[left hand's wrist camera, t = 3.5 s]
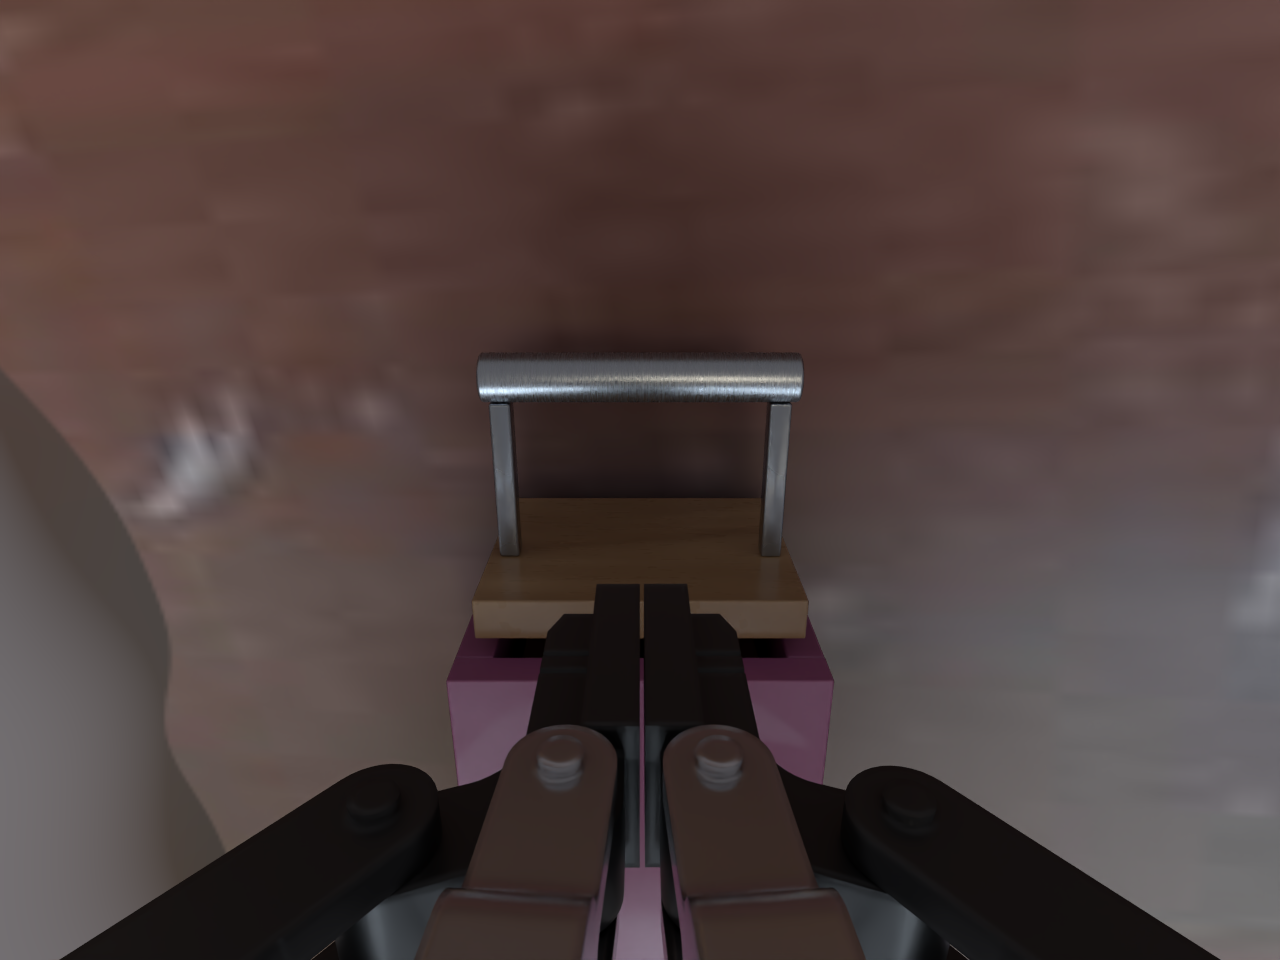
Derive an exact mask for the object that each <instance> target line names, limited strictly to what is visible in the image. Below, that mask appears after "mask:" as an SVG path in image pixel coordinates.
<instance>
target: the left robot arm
mask: <svg viewBox="0 0 1280 960" xmlns="http://www.w3.org/2000/svg"><path fill="white" fill-rule="evenodd" d="M644 810H645V867H660V878H661V934H662V943H663V952H664V960H968V959H969V960H1220V959H1218V958H1217V957H1215V956H1214V955H1212V954H1211V953H1209V952H1208V951H1206V950H1204V949H1203V948H1201V947H1200V946H1198V945H1197V944H1195V943H1193V942H1192V941H1190V940H1189V939H1187V938H1186V937H1184V936H1182V935H1181V934H1179V933H1178V932H1176V931H1175V930H1173V929H1172V928H1170V927H1168V926H1167V925H1165V924H1164V923H1162V922H1161V921H1159V920H1157V919H1156V918H1154V917H1153V916H1151V915H1150V914H1148V913H1146V912H1145V911H1143V910H1142V909H1140V908H1139V907H1137V906H1136V905H1134V904H1132V903H1131V902H1129V901H1128V900H1126V899H1125V898H1123V897H1121V896H1120V895H1118V894H1117V893H1115V892H1114V891H1112V890H1110V889H1109V888H1107V887H1106V886H1104V885H1103V884H1101V883H1099V882H1098V881H1096V880H1095V879H1093V878H1092V877H1090V876H1089V875H1087V874H1085V873H1084V872H1082V871H1081V870H1079V869H1078V868H1076V867H1074V866H1073V865H1071V864H1070V863H1068V862H1067V861H1065V860H1063V859H1062V858H1060V857H1059V856H1057V855H1056V854H1054V853H1053V852H1051V851H1049V850H1048V849H1046V848H1045V847H1043V846H1042V845H1040V844H1038V843H1037V842H1035V841H1034V840H1032V839H1031V838H1029V837H1027V836H1026V835H1024V834H1023V833H1021V832H1020V831H1018V830H1016V829H1015V828H1013V827H1012V826H1010V825H1009V824H1007V823H1006V822H1004V821H1002V820H1001V819H999V818H998V817H996V816H995V815H993V814H991V813H990V812H988V811H987V810H985V809H984V808H982V807H980V806H979V805H977V804H976V803H974V802H973V801H971V800H970V799H968V798H966V797H965V796H963V795H962V794H960V793H959V792H957V791H955V790H954V789H952V788H951V787H949V786H948V785H946V784H944V783H943V782H941V781H940V780H938V779H936V778H934V777H932V776H930V775H928V774H926V773H923V772H921V771H917V770H914V769H911V768H906V767H900V766H879V767H873V768H870V769H867V770H864V771H862V772H861V773H859V774H857V775H856V776H855V777H854V778H853V779H852V780H851V781H850V783H849V784H848V786H847V789H846V790H842V789H838V788H834V787H830V786H826V785H822V784H818V783H814V782H811V781H808V780H805V779H802V778H800V777H798V776H795V775H793V774H792V773H790V772H788V771H786V770H785V769H783V768H782V767H781V766H779V765H778V764H777V763H776V762H775V759H774V757H773V754H772V752H771V751H770V750H769V748H768V747H767V746H766V745H765V744H764V743H763V742H762V741H761V740H760V738H759V734H758V729H757V725H756V720H755V715H754V711H753V706H752V701H751V697H750V692H749V688H748V683H747V678H746V674H745V672H744V664H743V660H742V656H741V651H740V646H739V641H738V637H737V632H736V630H735V629H734V628H733V627H732V626H731V625H730V624H729V623H728V622H727V621H726V620H725V619H724V618H723V617H722V616H721V614H691V610H690V602H689V594H688V586H687V584H644ZM625 868H640V584H597V585H596V593H595V602H594V611H593V614H563V616H562V617H561V618H560V619H559V620H558V621H557V622H556V623H555V624H554V625H553V626H552V627H551V628H550V629H549V631H548V632H547V637H546V642H545V647H544V651H543V656H542V661H541V666H540V673H539V676H538V680H537V685H536V690H535V695H534V700H533V704H532V709H531V714H530V719H529V724H528V729H527V733H526V736H524V737H523V738H522V739H520V740H519V741H518V742H517V743H516V744H515V745H514V746H513V747H512V748H511V750H510V751H509V752H508V754H507V757H506V759H505V762H504V765H503V767H502V769H501V770H499V771H498V772H496V773H494V774H492V775H491V776H488V777H486V778H484V779H481V780H479V781H475V782H472V783H469V784H465V785H461V786H457V787H453V788H449V789H445V790H441V791H437V788H436V785H435V783H434V781H433V780H432V778H431V777H430V776H429V775H428V774H426V773H425V772H423V771H422V770H420V769H418V768H415V767H412V766H408V765H403V764H385V765H378V766H373V767H369V768H366V769H363V770H360V771H358V772H355V773H353V774H351V775H349V776H347V777H345V778H344V779H342V780H340V781H339V782H337V783H336V784H334V785H332V786H331V787H329V788H328V789H326V790H325V791H323V792H321V793H320V794H318V795H317V796H315V797H314V798H312V799H311V800H309V801H307V802H306V803H304V804H303V805H301V806H300V807H298V808H296V809H295V810H293V811H292V812H290V813H289V814H287V815H285V816H284V817H282V818H281V819H279V820H278V821H276V822H274V823H273V824H271V825H270V826H268V827H267V828H265V829H264V830H262V831H260V832H259V833H257V834H256V835H254V836H253V837H251V838H249V839H248V840H246V841H245V842H243V843H242V844H240V845H238V846H237V847H235V848H234V849H232V850H231V851H229V852H228V853H226V854H224V855H223V856H221V857H220V858H218V859H217V860H215V861H213V862H212V863H210V864H209V865H207V866H206V867H204V868H203V869H201V870H199V871H198V872H196V873H195V874H193V875H191V876H190V877H188V878H187V879H185V880H184V881H182V882H181V883H179V884H178V885H176V886H174V887H173V888H171V889H170V890H168V891H166V892H165V893H163V894H162V895H160V896H159V897H157V898H155V899H154V900H152V901H151V902H149V903H148V904H146V905H145V906H143V907H141V908H140V909H138V910H137V911H135V912H134V913H132V914H131V915H129V916H127V917H126V918H124V919H123V920H121V921H119V922H118V923H116V924H115V925H113V926H112V927H110V928H109V929H107V930H105V931H104V932H102V933H101V934H99V935H98V936H96V937H94V938H93V939H91V940H90V941H88V942H87V943H85V944H84V945H82V946H80V947H79V948H77V949H76V950H74V951H73V952H71V953H69V954H68V955H66V956H65V957H63V958H62V959H60V960H311V959H312V958H313V957H314V956H316V955H317V954H318V953H319V952H320V951H322V950H323V949H324V948H325V947H327V946H328V945H329V944H330V943H332V942H333V941H334V940H335V942H333V943H332V944H331V945H330V946H328V947H327V948H326V949H325V950H323V951H322V952H321V953H320V954H318V955H317V956H316V957H315V958H313V959H312V960H616V952H617V943H618V934H619V911H620V909H621V906H622V903H623V899H624V881H625ZM950 944H951V945H952V946H953V947H955V948H956V949H957V950H958V951H960V952H961V953H962V954H963V955H965V956H966V957H967V958H968V959H967V958H965V957H964V956H963V955H962V954H960V953H959V952H958V951H957V950H955V949H954V948H953V947H952V946H950Z"/></svg>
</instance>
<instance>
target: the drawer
mask: <svg viewBox="0 0 1280 960" xmlns="http://www.w3.org/2000/svg"><path fill="white" fill-rule="evenodd" d="M476 382H477V390H478V395H479V398H480V400H481V401H482V402H491V403H490V404H489V417H490V430H491V443H492V456H493V469H494V483H495V496H496V509H497V522H498V538H497V540H496V543H495V545H494V548H493V550H492V553H491V555H490V558H489V560H488V563H487V565H486V567H485V570H484V572H483V575H482V577H481V580H480V582H479V585H478V587H477V590H476V592H475V595H474V597H473V600H472V610H473V621H474V632H475V638H527V640H526V644H525V648H524V652H523V656H522V658H542V656H543V651H544V647H545V642H546V637H547V632H548V631H549V629H550V628H551V627H552V626H553V625H554V624H555V623H556V622H557V621H558V620H559V619H560V618H561V617H562V616H563V614H593V611H594V602H595V593H596V585H597V584H640V658H644V584H687V586H688V594H689V602H690V610H691V614H721V616H722V617H723V618H724V619H725V620H726V621H727V622H728V623H729V624H730V625H731V626H732V627H733V628H734V629H735V630H736V632H737V637H738V641H739V646H740V651H741V656H742V658H758V654H757V650H756V646H755V642H754V638H805V636H806V625H807V614H808V604H809V601H808V599H807V596H806V594H805V591H804V589H803V586H802V584H801V581H800V579H799V576H798V574H797V572H796V569H795V567H794V564H793V562H792V559H791V557H790V554H789V552H788V549H787V547H786V544H785V542H784V540H783V537H782V529H783V515H784V502H785V489H786V476H787V463H788V449H789V436H790V423H791V410H792V405H791V403H790V402H798V401H799V400H800V398H801V396H802V392H803V386H804V364H803V359H802V356H801V354H800V353H480V354H479V357H478V360H477V367H476ZM513 402H767V415H766V430H765V446H764V462H763V478H762V493H761V498H519V490H518V474H517V459H516V443H515V427H514V411H513Z"/></svg>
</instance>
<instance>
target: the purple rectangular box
mask: <svg viewBox="0 0 1280 960" xmlns="http://www.w3.org/2000/svg"><path fill="white" fill-rule="evenodd" d="M526 640H527V638H475V632H474V621H473V615H472V617H471V620H470V622H469V625H468V627H467V630H466V632H465V635H464V638H463V640H462V643H461V645H460V648H459V650H458V653H457V655H456V658H455V660H454V663H453V665H452V668H451V670H450V673H449V676H448V678H447V681H446V683H447V692H448V701H449V710H450V719H451V728H452V737H453V746H454V754H455V763H456V772H457V781H458V786H461V785H465V784H469V783H472V782H475V781H479V780H481V779H484V778H486V777H488V776H491V775H492V774H494V773H496V772H498V771H499V770H501V769H502V767H503V765H504V762H505V759H506V757H507V754H508V752H509V751H510V750H511V748H512V747H513V746H514V745H515V744H516V743H517V742H518V741H519V740H520V739H522V738H523V737H524V736H526V733H527V729H528V724H529V719H530V714H531V709H532V704H533V700H534V695H535V690H536V685H537V680H538V676H539V673H540V666H541V661H542V658H522V656H523V652H524V648H525V644H526ZM754 642H755V646H756V650H757V654H758V658H742V660H743V664H744V672H745V674H746V678H747V683H748V688H749V692H750V697H751V701H752V706H753V711H754V715H755V720H756V725H757V729H758V734H759V738H760V740H761V741H762V742H763V743H764V744H765V745H766V746H767V747H768V748H769V750H770V751H771V752H772V754H773V757H774V759H775V762H776V763H777V764H778V765H779V766H781V767H782V768H783V769H785V770H786V771H788V772H790V773H792V774H793V775H795V776H798V777H800V778H802V779H805V780H808V781H811V782H814V783H818V784H822V785H823V776H824V767H825V758H826V749H827V740H828V731H829V722H830V714H831V705H832V696H833V687H834V680H833V677H832V674H831V672H830V669H829V667H828V664H827V662H826V659H825V658H824V655H823V653H822V650H821V648H820V645H819V643H818V640H817V638H816V635H815V632H814V630H813V627H812V625H811V622H810V620H809V617H808V615H807V625H806V636H805V638H754ZM616 960H664V952H663V943H662V934H661V878H660V867H645V810H644V658H640V868H625V881H624V899H623V903H622V906H621V909H620V911H619V934H618V943H617V952H616Z"/></svg>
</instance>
